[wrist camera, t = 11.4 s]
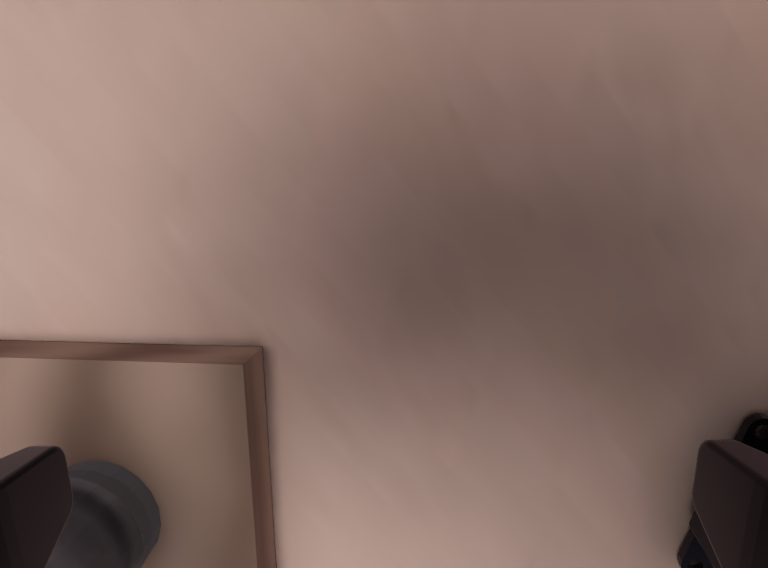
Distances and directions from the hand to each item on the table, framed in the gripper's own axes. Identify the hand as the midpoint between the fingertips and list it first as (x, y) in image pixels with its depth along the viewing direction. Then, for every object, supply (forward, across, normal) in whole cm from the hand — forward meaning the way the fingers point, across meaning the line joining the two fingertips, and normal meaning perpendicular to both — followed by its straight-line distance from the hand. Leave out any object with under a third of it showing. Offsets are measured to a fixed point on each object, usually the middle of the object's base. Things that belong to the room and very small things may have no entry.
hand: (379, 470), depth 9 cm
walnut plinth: (+14, +11, +10) cm, 20 cm away
